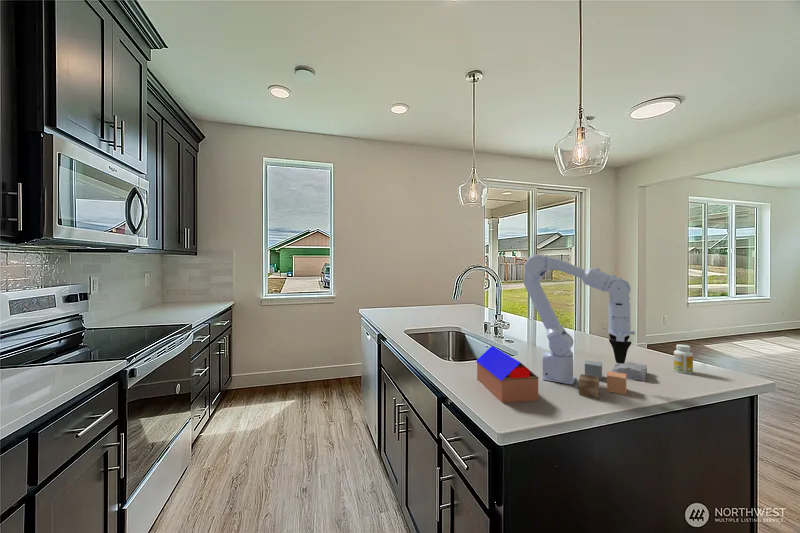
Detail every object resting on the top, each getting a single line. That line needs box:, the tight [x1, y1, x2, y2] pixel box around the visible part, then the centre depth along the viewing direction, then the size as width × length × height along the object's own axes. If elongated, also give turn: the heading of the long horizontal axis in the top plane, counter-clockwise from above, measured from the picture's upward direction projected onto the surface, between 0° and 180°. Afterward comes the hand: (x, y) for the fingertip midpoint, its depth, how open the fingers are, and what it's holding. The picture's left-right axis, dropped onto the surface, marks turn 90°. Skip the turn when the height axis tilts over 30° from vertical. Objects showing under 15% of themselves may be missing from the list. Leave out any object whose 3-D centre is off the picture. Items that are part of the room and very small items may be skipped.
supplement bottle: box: [673, 343, 694, 374], centre depth 122 cm, size 5×5×10 cm
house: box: [475, 345, 540, 404], centre depth 107 cm, size 12×20×12 cm, turn 8°
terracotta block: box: [606, 370, 627, 395], centre depth 105 cm, size 5×5×5 cm
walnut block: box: [578, 374, 600, 399], centre depth 102 cm, size 5×5×5 cm
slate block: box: [584, 359, 603, 381], centre depth 117 cm, size 5×5×5 cm
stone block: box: [612, 361, 648, 382], centre depth 120 cm, size 12×5×10 cm
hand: (619, 359), depth 105 cm, fingers open, 7 cm apart
